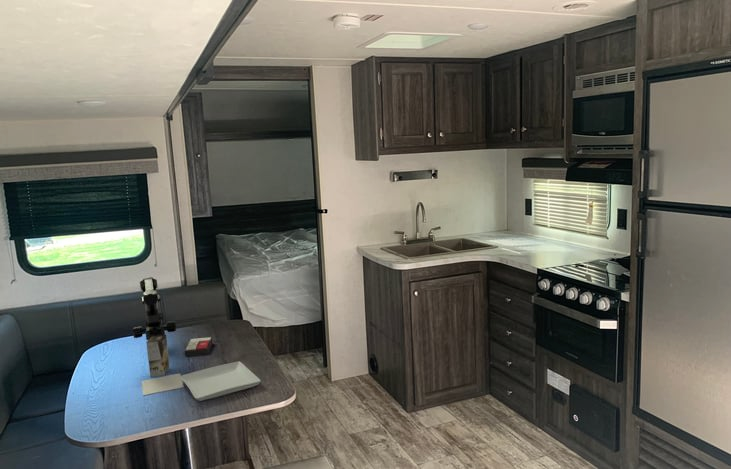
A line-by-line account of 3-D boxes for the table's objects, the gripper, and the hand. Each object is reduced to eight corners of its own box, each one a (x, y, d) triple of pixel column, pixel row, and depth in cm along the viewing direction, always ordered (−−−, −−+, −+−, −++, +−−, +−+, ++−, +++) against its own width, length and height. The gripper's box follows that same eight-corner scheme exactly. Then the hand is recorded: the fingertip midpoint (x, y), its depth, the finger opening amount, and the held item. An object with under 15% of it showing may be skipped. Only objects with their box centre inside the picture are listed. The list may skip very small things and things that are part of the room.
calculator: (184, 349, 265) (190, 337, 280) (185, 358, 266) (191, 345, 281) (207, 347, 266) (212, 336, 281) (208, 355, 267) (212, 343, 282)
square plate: (196, 407, 212) (195, 397, 211) (179, 383, 235) (178, 375, 234) (262, 388, 226) (261, 379, 225) (240, 367, 249) (239, 359, 248)
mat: (141, 381, 238) (141, 380, 238) (180, 373, 244) (179, 373, 244) (143, 395, 224) (143, 395, 224) (183, 387, 230) (183, 386, 230)
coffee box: (164, 375, 243) (160, 341, 241) (149, 376, 243) (145, 342, 240) (170, 367, 252) (166, 334, 250) (155, 368, 252) (152, 335, 249)
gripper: (130, 311, 250) (133, 341, 242) (173, 304, 257) (177, 333, 249) (132, 323, 258) (135, 352, 250) (173, 316, 266) (178, 344, 257)
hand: (156, 345), depth 251 cm, fingers closed
